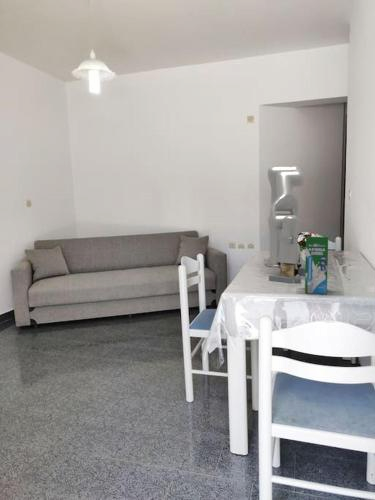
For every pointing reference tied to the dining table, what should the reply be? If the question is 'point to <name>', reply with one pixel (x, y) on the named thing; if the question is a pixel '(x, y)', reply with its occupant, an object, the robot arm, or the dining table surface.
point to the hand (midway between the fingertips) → (289, 275)
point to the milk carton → (316, 265)
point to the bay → (287, 279)
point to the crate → (288, 270)
